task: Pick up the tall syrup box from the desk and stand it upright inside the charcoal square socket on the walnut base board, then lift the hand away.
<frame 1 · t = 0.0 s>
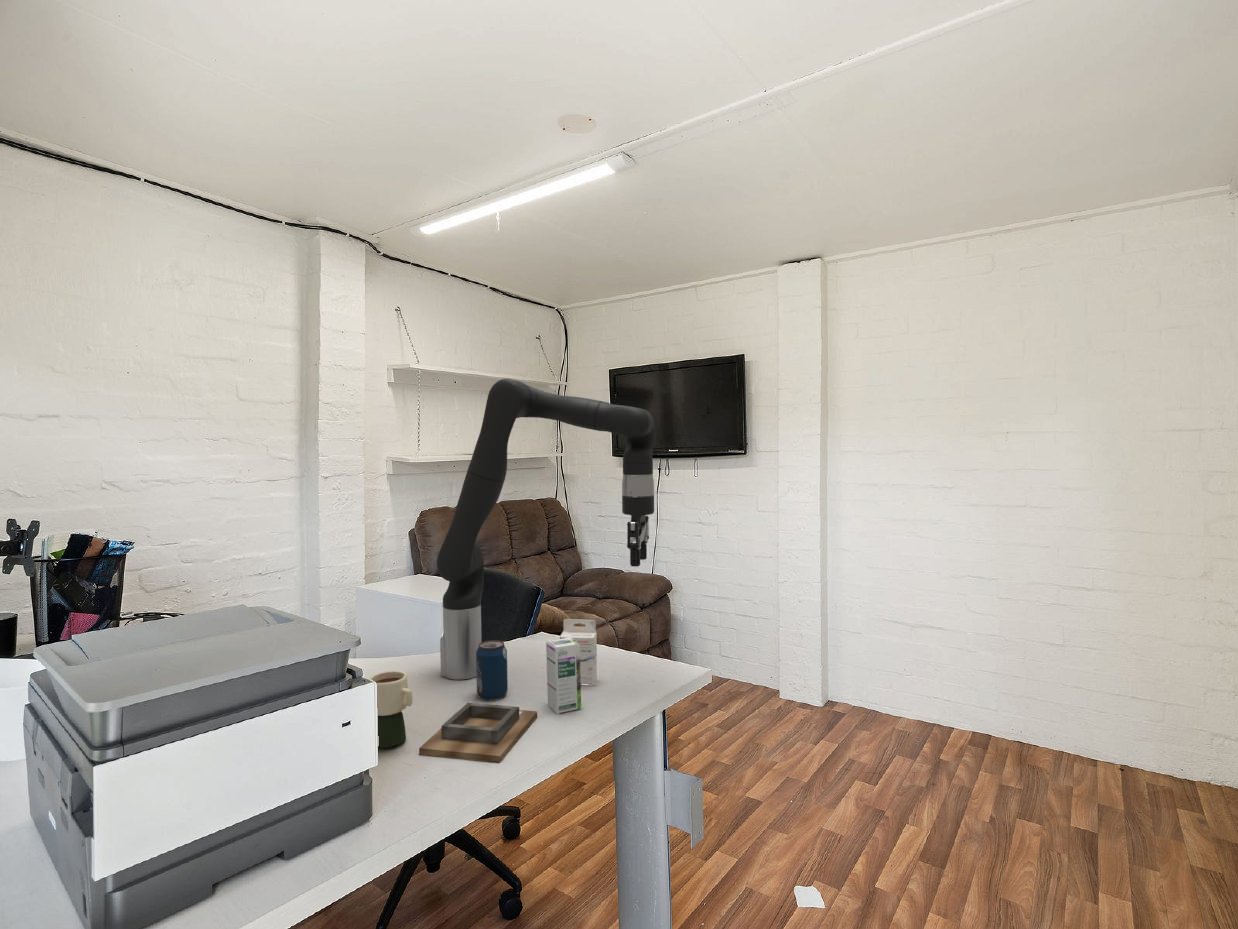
hand: (638, 562, 153), 29 cm above the table, tool pointing down, fingers open, 8 cm apart
soda can: (492, 696, 149), on the table
syrup box: (564, 708, 142), on the table
ink cartridge box: (578, 683, 157), on the table
character mug: (389, 744, 126), on the table
base board: (481, 734, 129), on the table
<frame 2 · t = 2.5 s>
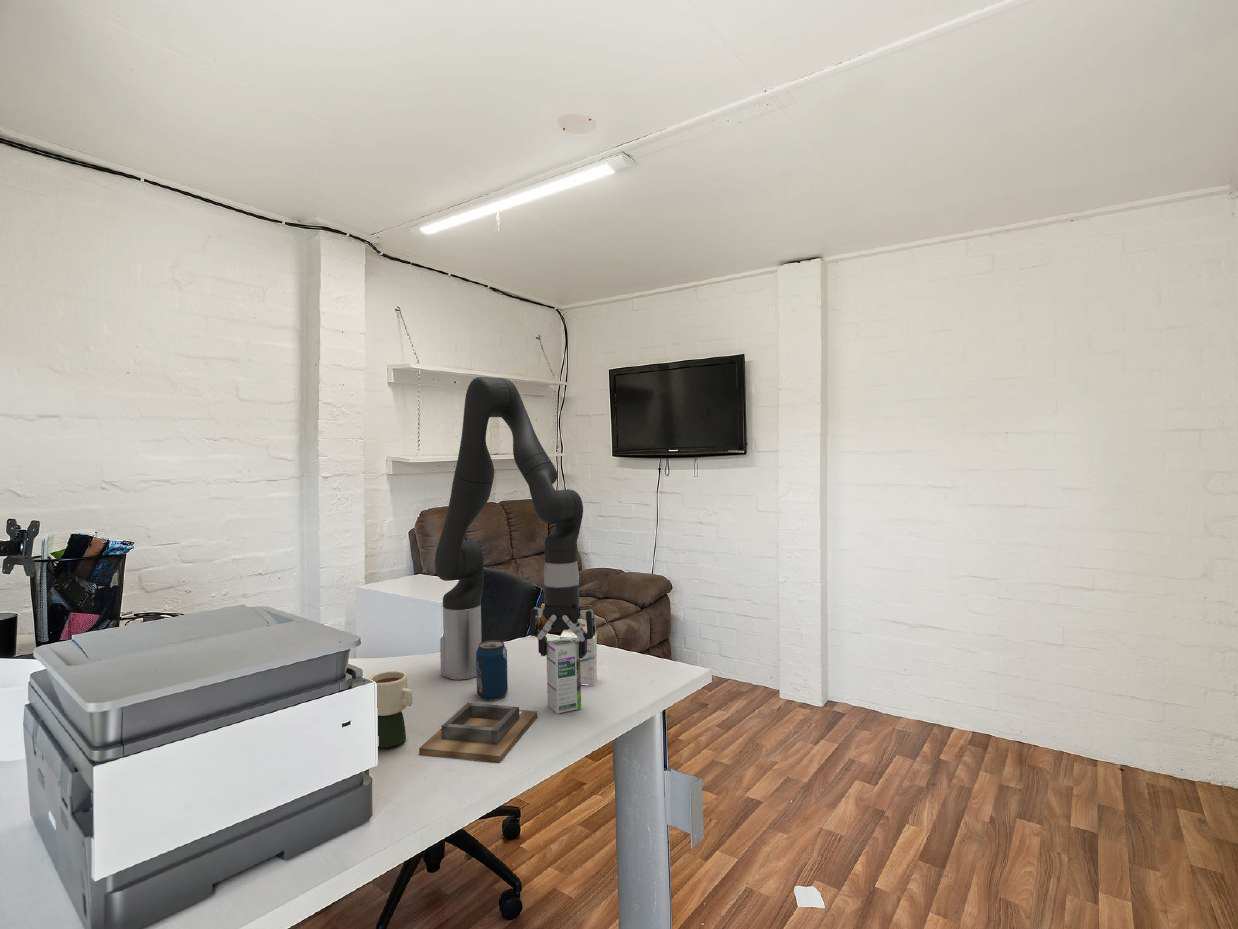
hand: (562, 656, 142), 11 cm above the table, tool pointing down, fingers open, 8 cm apart
syrup box: (564, 708, 142), on the table, touching gripper
everything else where it was.
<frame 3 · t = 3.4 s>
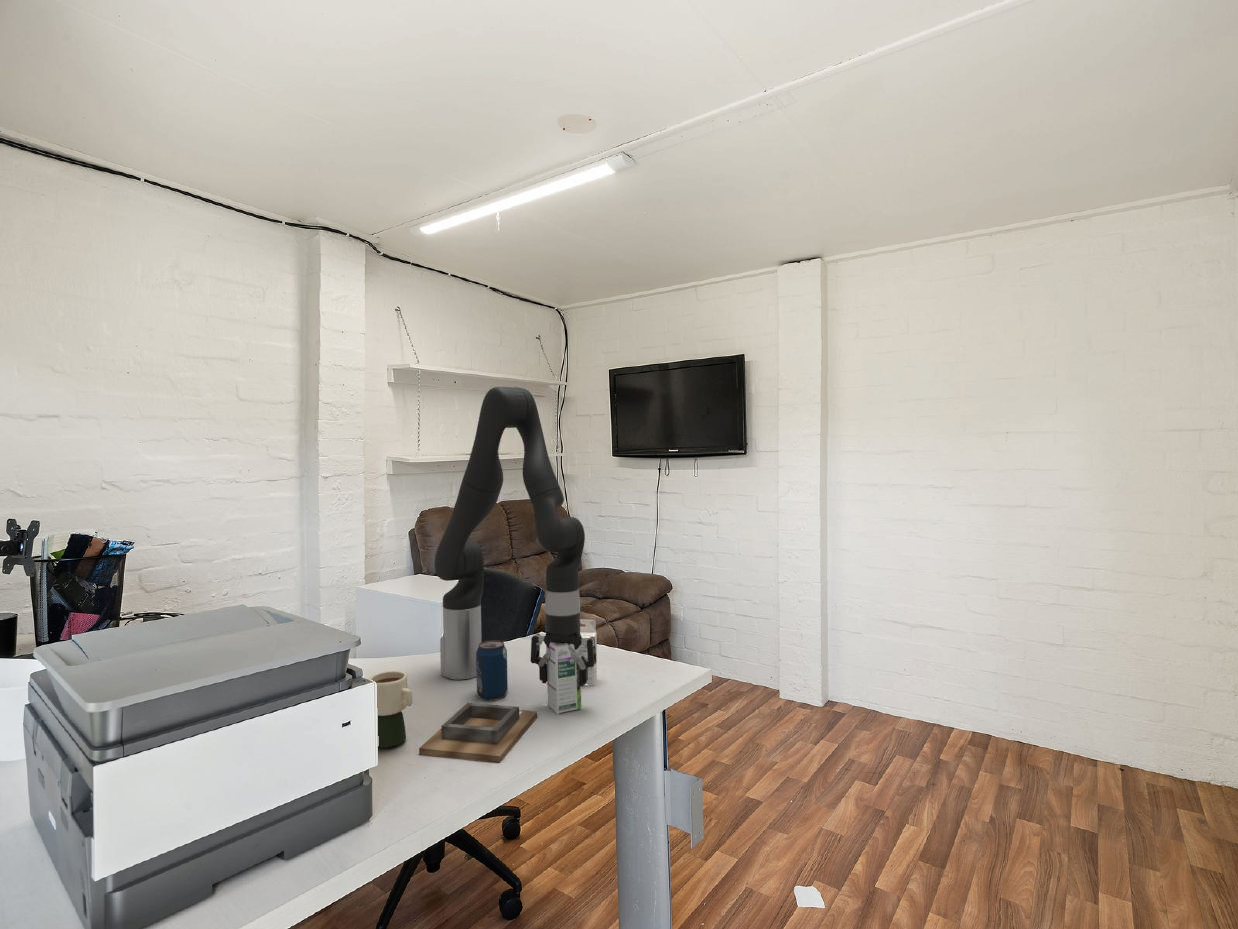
hand: (563, 683, 142), 5 cm above the table, tool pointing down, fingers closed on syrup box, 8 cm apart
syrup box: (564, 708, 142), on the table, touching gripper
everything else where it was.
when the fingers open (8 cm above the table, at t = 10.7 s): syrup box drops 1 cm, resting on base board.
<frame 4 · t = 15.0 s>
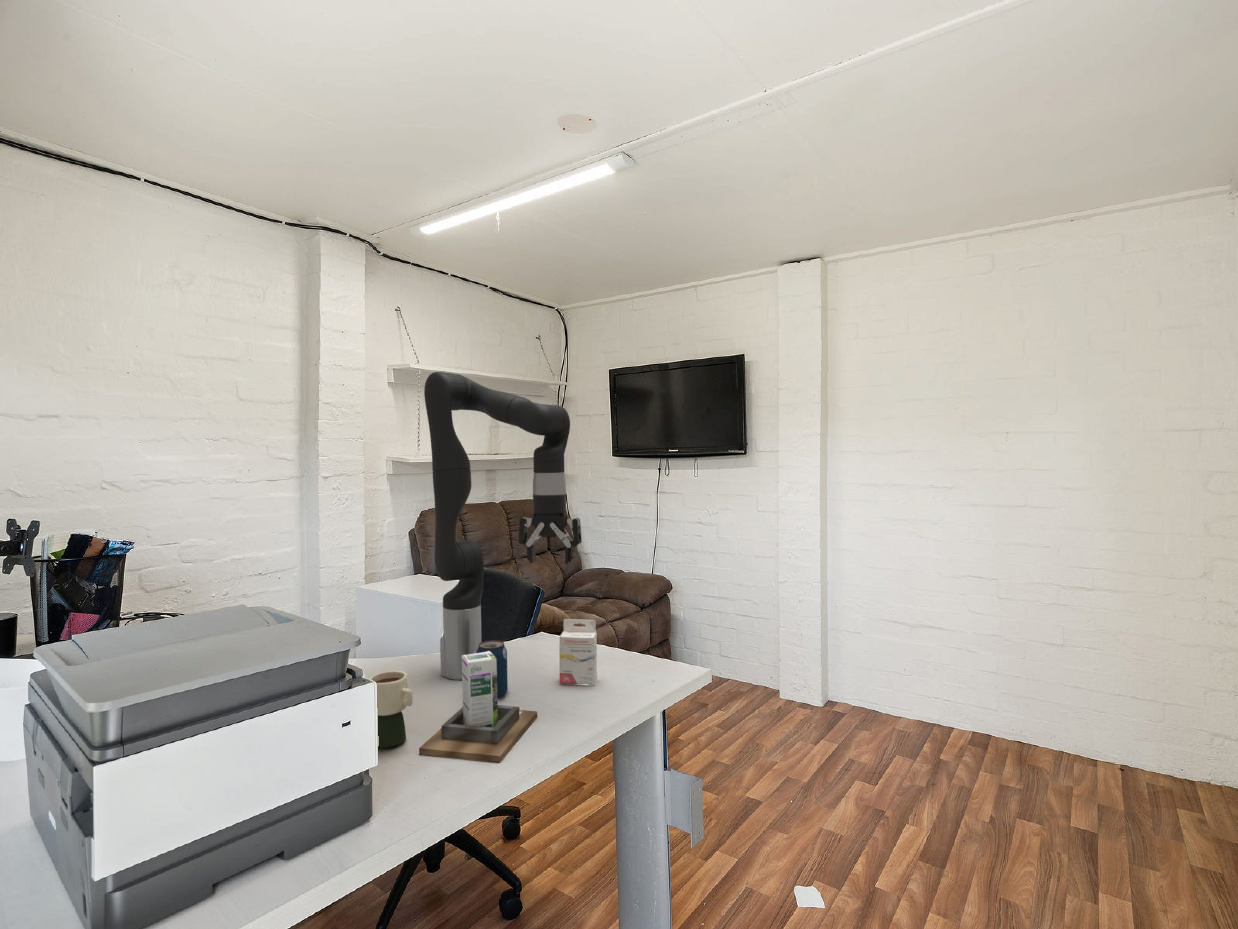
hand: (550, 563, 149), 30 cm above the table, tool pointing down, fingers open, 8 cm apart
syrup box: (480, 729, 130), point 1 cm above the table, touching base board
everything else where it was.
at the end: syrup box 0.4 cm off-centre on the base board, point 1.0 cm above the base board's base; syrup box tilted 0°; the gripper is holding nothing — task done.
